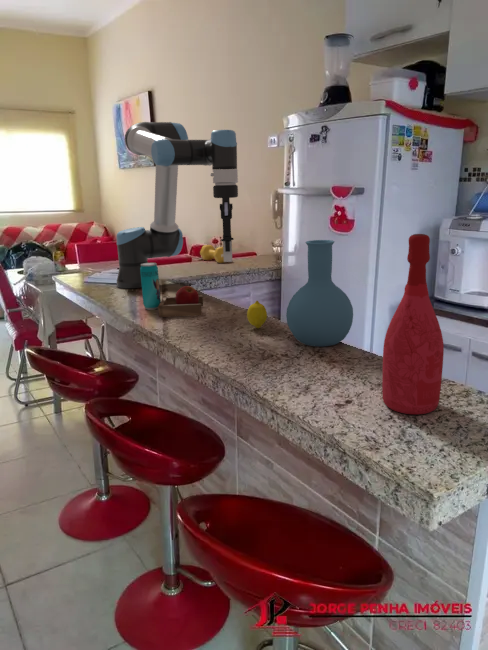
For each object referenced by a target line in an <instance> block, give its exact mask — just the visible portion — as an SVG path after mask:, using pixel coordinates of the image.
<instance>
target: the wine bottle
mask: <svg viewBox="0 0 488 650" xmlns="http://www.w3.org/2000/svg"><path fill="white" fill-rule="evenodd" d="M430 243H431V240H430V236H429V235H427V234H425V233H413V234H411V235H410V236H409V238H408V253H407V257H406V258H407V262H408V264H409V268H408V275H407V281H406V282H407V283H406V284H405V286H404V293H403V296H402V298H401V300H400V303H399V304H398V306H397V308H396V309H395V312H394V314H393V316H392V318H391V320H390V322H389V325H388V327H387V330H386V333H385V336H384V341H383V349H382V351H383V353H382V382H381V383H382V386H381V387H382V392H381V395H382V401H383V404H384V405H385V406H387V407H388V408H389V409H390V410H392V411H395V412H397V413H400V414H406V415H425V414H429V413H431V412H433V411H435V410H436V409H437V408H438V406H439V402H440V397H441V390H442V389H441V388H442V379H443V378H442V377H443V367H444V350H445V349H444V345H445V344H444V336H443V333H442V329H441V326H440V323H439V320H438V317H437V315H436V312H435V309H434V307H433V304H432V302H431V299H430V296H429V295H430V294H429V288H428V283H427V264H428V262H430V260H431V255H430Z"/></svg>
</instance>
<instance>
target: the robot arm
mask: <svg viewBox="0 0 488 650" xmlns="http://www.w3.org/2000/svg"><path fill="white" fill-rule="evenodd" d="M124 144H125V146H126V148H127V150H129V152H131V153H133V154H134V155H137V156H148V157H150V158H151V160H152V161H153V162H154V165H155V177H154V179H155V180H154V181H155V182H154V184H155V185H154V213H153V219H154V220H153V221H152V222H150V224H149V226H150V229H148V230H147V229H146V228H145V227H144V226H141V227H140V226H139V227H133V228H125V229H123V230H120V231H118V232H117V233H116V244H115V245H116V246H117V248H116V249H117V255H118V257H117V259H118V266H119V269H118V274H117V278H116V287H117V288H119V289H140V288H141V289H142V284H141V273H140V268H141V264H143V263H149V261H148V260H149V259H155V258H156V259H158V258H170V257H174V256H178V255H179V254H180V253H181V251H182V249H183V245H184V238H183V237H184V236H183V231H182V230H181V229H180V228H179V225H178V224H177V222H176V213H177V212H176V211H177V197H178V195H177V194H178V192H177V191H178V174H179V173H178V172H179V166H209V167H210V166H212V167H211V168H212V169H211V170H212V173H210V177H212V183H213V184H214V185H213V186H212V187H213V188H212V190H213V192H212V194H213V197H214V198H215V199H221V201H222V203H219V210H220V219H221V220H222V238H221V239H220V241H221V242H222V247H223V254H224V262H225V263H227V262H228V263H232V262H233V244H232V241H233V240H234V239H235V238H234V237H232V227H231V225H232V224H231V221H232V219H233V208H234V207H233V206H234V205H233V203H231V202H230V199H231V198H237V197H239V188H238V187H239V186H238V185H237V183H238V182H239V178H238V177H239V175H238V148H237V145H238V142H237V133H236V131H235V130H232V129H215V130H212V131H211V132H210V139H189V135H188V133H187V131H186V128H185V127H184V125H183V124H181V123H178V122H172V121H169V122H168V121H166V122H165V121H159V122H157V121H151V122H150V121H142V122H141V121H140V122H138V123H135V124H133V125H131V126H129V128H128V129H127V130H126V132H125V135H124Z"/></svg>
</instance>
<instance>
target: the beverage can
mask: <svg viewBox="0 0 488 650" xmlns="http://www.w3.org/2000/svg"><path fill="white" fill-rule="evenodd" d="M140 273H141V284H142V287H141V293H142V304H143V306H144V308H145V309H146V310H148V311H153V310H159V309H158V306H159V304H160V302H161V301H162V299H161V291H160V290H161V289H160V279H159V278H160V277H159V268H158V264H157V263H156V262H148V263H143V264H141V268H140Z"/></svg>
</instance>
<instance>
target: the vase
mask: <svg viewBox="0 0 488 650" xmlns="http://www.w3.org/2000/svg"><path fill="white" fill-rule="evenodd" d="M335 242H336V241H334V240H332V239H331V240H330V239H312V240H308V241H305V244H306V245H307V271H308V272H307V274H308V275H307V276H308V278H307V282H306V283H305V284H304V285H303V286H302V287H300V288H299V289H298V290H297V291H296V292H295V293H294V294H293V296H291V299H290V301H289V302H288V305H287V307H286V312H285V313H286V314H285V315H286V324H287V328H289V330H290V332H291V334H292V335H293V337H294V338H295V339H296V340H297V341H298V342H300V343H301V344H303V345H305V346H311V347H330V346H336V345H337V344H339V343H340V342H342V341H344V340H345V339H346V337H347V335H348V334H349V333H350V330H351V329H352V325H353V319H354V308H353V305H352V302H351V300H350V298H349V296H348V295H347V294H346V293H345V292H344V290H342V288H340V287H339V286H337V285H336V284H335V283H334V282H333V280H332V273H333V244H334V243H335Z"/></svg>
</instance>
